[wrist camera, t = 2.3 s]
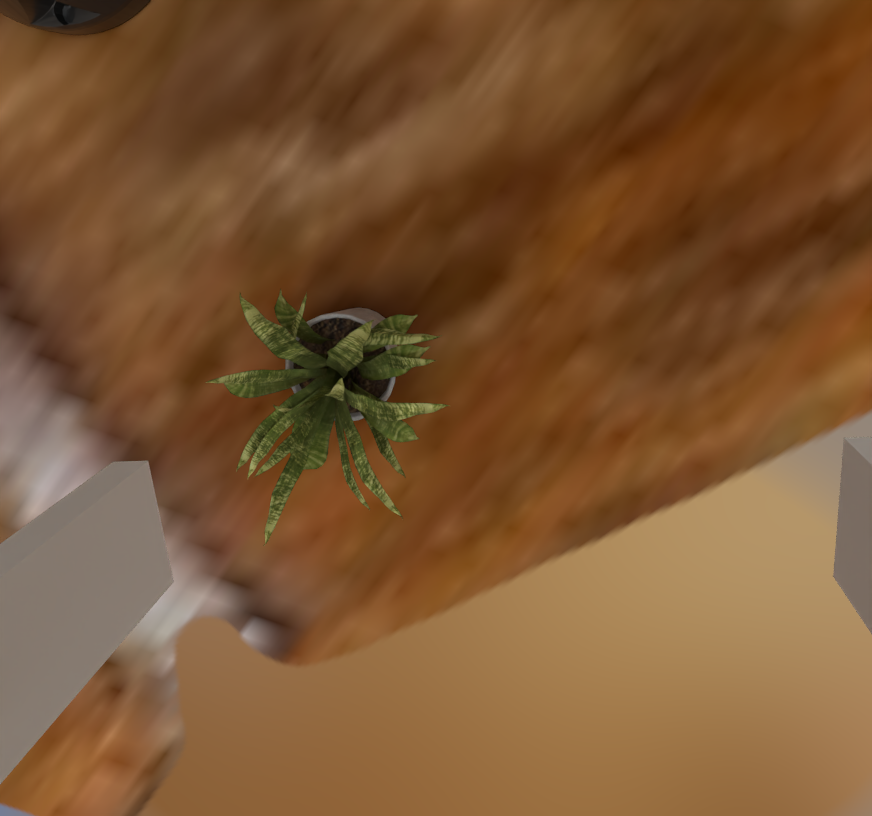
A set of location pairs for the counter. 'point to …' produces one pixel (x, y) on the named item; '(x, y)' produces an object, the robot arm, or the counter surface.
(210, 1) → the counter surface
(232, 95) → the counter surface
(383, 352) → the house plant
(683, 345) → the counter surface
